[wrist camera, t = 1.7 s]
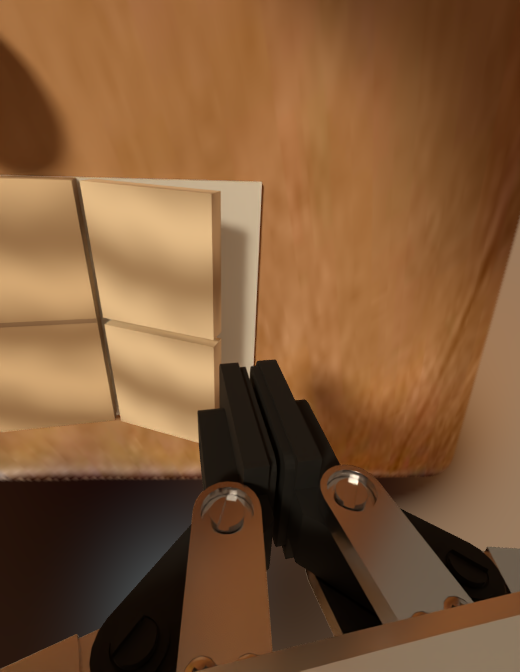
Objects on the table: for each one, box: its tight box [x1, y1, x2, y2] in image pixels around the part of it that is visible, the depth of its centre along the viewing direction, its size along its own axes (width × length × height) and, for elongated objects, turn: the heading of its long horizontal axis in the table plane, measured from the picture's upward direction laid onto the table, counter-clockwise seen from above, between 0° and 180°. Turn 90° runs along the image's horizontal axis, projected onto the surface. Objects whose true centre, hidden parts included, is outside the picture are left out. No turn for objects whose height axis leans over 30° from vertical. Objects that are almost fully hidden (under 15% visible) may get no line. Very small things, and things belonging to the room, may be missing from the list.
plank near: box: [80, 179, 221, 340], centre depth 22 cm, size 8×8×1 cm
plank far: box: [104, 320, 221, 443], centre depth 27 cm, size 8×8×1 cm
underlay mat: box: [0, 175, 262, 415], centre depth 26 cm, size 18×20×1 cm
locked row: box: [0, 176, 117, 432], centre depth 25 cm, size 18×8×1 cm, turn 177°
